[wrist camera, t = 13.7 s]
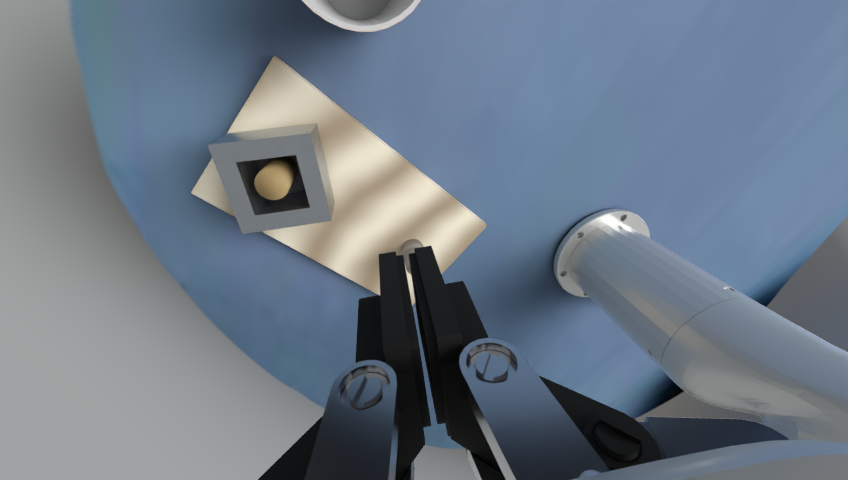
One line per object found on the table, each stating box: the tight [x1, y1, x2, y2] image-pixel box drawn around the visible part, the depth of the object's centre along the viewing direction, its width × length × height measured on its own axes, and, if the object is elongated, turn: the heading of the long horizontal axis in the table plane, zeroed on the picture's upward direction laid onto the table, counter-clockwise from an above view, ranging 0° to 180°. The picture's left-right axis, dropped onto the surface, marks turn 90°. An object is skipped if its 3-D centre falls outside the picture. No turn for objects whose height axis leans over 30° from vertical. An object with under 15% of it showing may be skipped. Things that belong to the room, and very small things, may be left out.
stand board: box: [191, 56, 487, 305], centre depth 31 cm, size 25×14×7 cm, turn 49°
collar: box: [207, 123, 335, 234], centre depth 27 cm, size 7×7×4 cm
